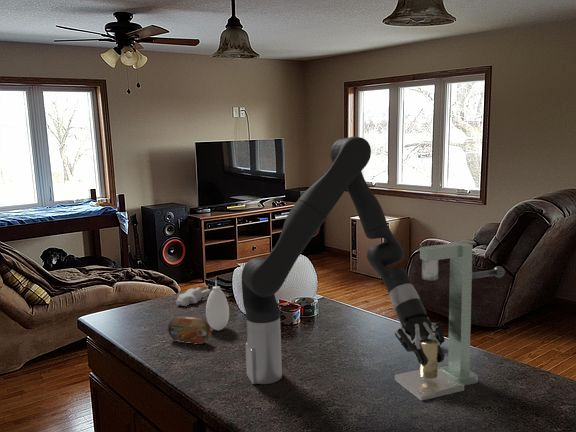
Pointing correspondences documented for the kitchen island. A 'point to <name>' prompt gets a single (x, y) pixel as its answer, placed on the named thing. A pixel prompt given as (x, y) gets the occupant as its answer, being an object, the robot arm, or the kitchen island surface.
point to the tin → (189, 329)
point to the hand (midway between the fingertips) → (433, 362)
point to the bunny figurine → (191, 296)
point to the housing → (429, 358)
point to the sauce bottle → (217, 309)
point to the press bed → (450, 321)
